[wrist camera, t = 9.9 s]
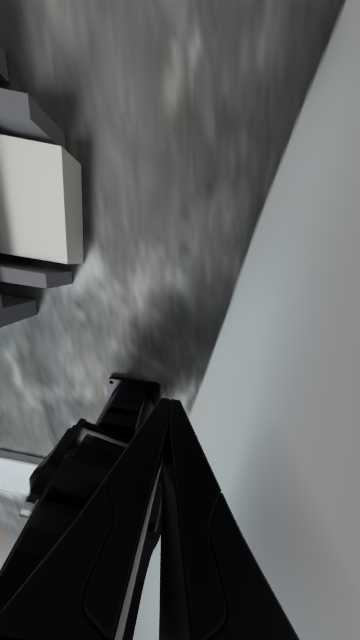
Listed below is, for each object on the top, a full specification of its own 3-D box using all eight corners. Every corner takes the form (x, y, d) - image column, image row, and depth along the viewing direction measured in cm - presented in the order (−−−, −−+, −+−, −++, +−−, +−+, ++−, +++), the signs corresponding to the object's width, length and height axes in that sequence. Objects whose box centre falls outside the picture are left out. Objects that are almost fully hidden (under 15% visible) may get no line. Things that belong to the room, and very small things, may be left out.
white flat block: (83, 263, 17) (67, 264, 15) (-21, 246, 17) (-54, 243, 14) (81, 165, 14) (61, 146, 12) (-42, 141, 14) (-88, 117, 12)
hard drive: (-8, 489, 28) (68, 504, 28) (-12, 456, 25) (72, 473, 26) (2, 476, 29) (74, 491, 30) (-1, 444, 27) (79, 461, 27)
